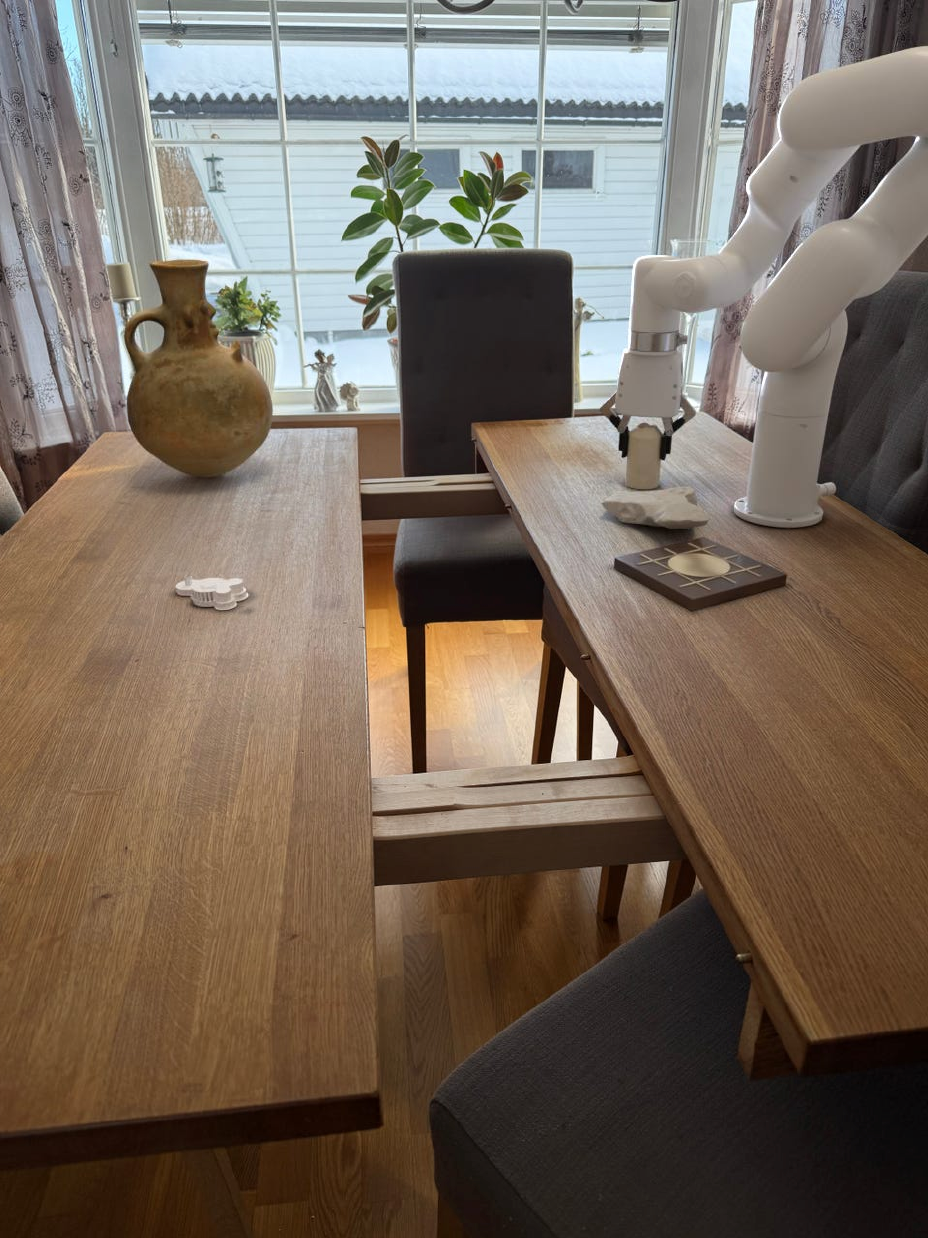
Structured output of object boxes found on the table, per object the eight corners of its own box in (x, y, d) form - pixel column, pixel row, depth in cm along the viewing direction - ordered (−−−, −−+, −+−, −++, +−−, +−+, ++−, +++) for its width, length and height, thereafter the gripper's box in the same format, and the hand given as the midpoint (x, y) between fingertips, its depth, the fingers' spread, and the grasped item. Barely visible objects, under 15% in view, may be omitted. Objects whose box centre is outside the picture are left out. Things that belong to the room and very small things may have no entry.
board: (702, 546, 121) (703, 535, 120) (785, 585, 109) (787, 573, 108) (613, 568, 115) (614, 556, 114) (691, 611, 103) (692, 598, 102)
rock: (596, 546, 122) (708, 543, 119) (594, 513, 121) (708, 509, 117) (608, 507, 142) (705, 504, 138) (607, 479, 140) (705, 475, 136)
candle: (621, 480, 149) (625, 421, 144) (653, 479, 149) (658, 420, 145) (629, 490, 144) (633, 429, 139) (662, 489, 144) (668, 428, 140)
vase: (133, 501, 142) (89, 268, 127) (145, 461, 163) (109, 257, 148) (283, 489, 147) (258, 263, 132) (276, 451, 168) (254, 253, 153)
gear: (254, 582, 112) (252, 566, 111) (245, 611, 104) (243, 595, 103) (179, 586, 111) (176, 570, 110) (165, 615, 104) (162, 599, 103)
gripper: (711, 340, 137) (699, 454, 145) (601, 336, 142) (595, 447, 150) (708, 347, 131) (696, 466, 139) (593, 344, 136) (587, 459, 143)
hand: (644, 455), depth 144 cm, fingers closed on candle, 5 cm apart
